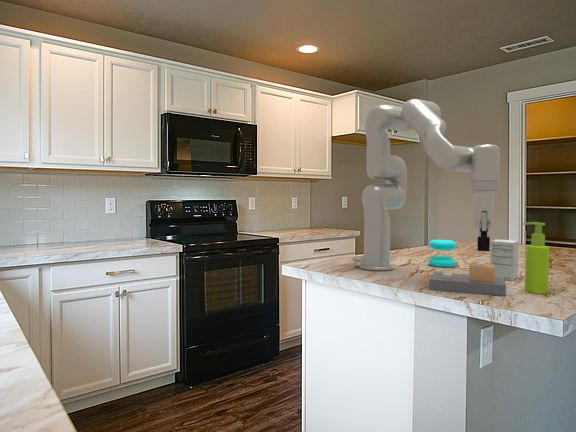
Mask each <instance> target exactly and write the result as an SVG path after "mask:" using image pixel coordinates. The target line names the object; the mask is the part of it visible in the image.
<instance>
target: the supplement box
mask: <svg viewBox="0 0 576 432" xmlns="http://www.w3.org/2000/svg"><path fill="white" fill-rule="evenodd" d="M519 246H520V241H519V240H514V239H513V240H511V239H499V238H498V239H494V240H490V258H489V259H490V260H489V265H494V266H495V276H497V277H503V278H504V281H511V282H512V281H514V280H516V279H517V278H519V249H520V248H519Z"/></svg>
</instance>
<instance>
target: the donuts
mask: <svg viewBox="0 0 576 432" xmlns="http://www.w3.org/2000/svg"><path fill="white" fill-rule="evenodd" d="M428 244H429V247H430V248H431V249H433V250H436V251H452V250H454V249H456V247H457V243H456V241H454V240H452V239H451V240H450V239H431V240H430V241H429V243H428ZM456 263H457V262H456V260H455V259H454V258H453V257H450V256H445V255H444V256H443V255H435V256H432V257H430V258H429V259H428V264H429V265H430V266H432V267H434V268H435V267H436V268H454V267H455V266H456Z"/></svg>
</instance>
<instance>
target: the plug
mask: <svg viewBox="0 0 576 432" xmlns="http://www.w3.org/2000/svg"><path fill="white" fill-rule="evenodd" d="M468 274H469V280H474V281H486V282H494V277H495V266H494V265H490V264H488V263H487V264H486V263H485V264H484V263H472V262H471V263H470V264H469V273H468Z"/></svg>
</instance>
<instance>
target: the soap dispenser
mask: <svg viewBox="0 0 576 432" xmlns="http://www.w3.org/2000/svg"><path fill="white" fill-rule="evenodd" d="M522 225H524V226H526V225H534V232H533V233H531V239H530V242H531V243H530V244H527V245H526V246H525V270H524V271H525V273H524V292H527V293H532V294H538V295H541V294H542V295H544V294H546V295H547V294H549V278H550V277H549V275H550V274H549V273H550V250H551V249H550V246H549V245H546V234H545V233H543V226H545V225H546V223H545V222H539V221H529V222H523V223H522Z"/></svg>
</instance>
